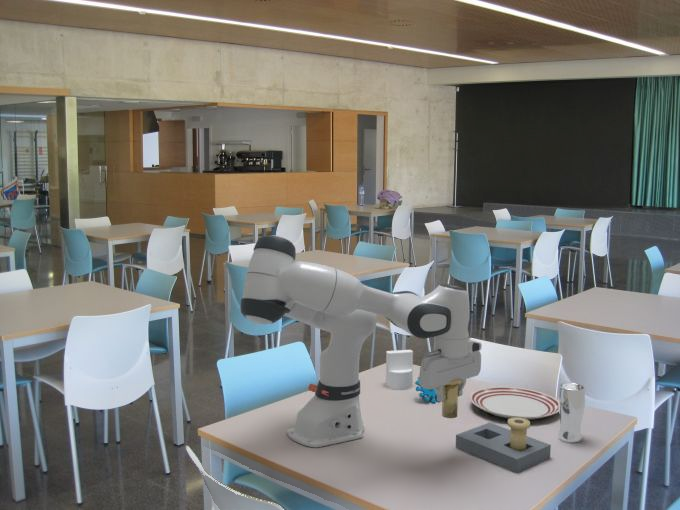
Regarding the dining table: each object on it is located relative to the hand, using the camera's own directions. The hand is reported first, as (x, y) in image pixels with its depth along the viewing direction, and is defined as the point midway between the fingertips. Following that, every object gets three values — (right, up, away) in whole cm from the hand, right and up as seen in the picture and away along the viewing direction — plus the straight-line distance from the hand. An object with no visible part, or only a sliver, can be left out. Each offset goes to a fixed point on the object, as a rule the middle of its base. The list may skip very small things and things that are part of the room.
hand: (449, 398), depth 184 cm
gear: (+1, -10, +44) cm, 45 cm away
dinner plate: (+26, -11, +35) cm, 45 cm away
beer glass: (+35, -14, +12) cm, 40 cm away
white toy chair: (-8, -8, +58) cm, 59 cm away
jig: (+14, -15, +3) cm, 21 cm away
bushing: (0, -5, +1) cm, 5 cm away
